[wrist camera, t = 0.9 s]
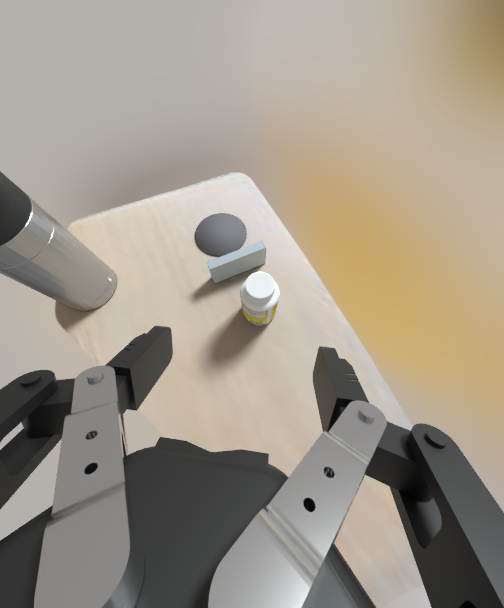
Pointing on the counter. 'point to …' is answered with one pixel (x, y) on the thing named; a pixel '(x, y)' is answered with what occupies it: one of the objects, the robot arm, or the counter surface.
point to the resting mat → (220, 234)
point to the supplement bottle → (259, 298)
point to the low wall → (237, 261)
